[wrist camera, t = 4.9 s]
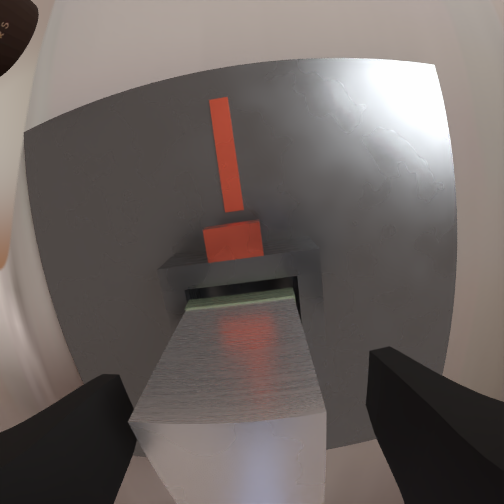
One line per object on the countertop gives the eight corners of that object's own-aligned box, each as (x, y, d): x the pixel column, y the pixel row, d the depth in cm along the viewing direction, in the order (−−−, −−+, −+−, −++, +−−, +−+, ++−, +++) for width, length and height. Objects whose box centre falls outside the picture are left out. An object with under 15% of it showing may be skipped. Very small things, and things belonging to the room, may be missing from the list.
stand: (424, 413, 17) (443, 444, 13) (125, 445, 18) (111, 477, 15) (425, 70, 12) (460, 50, 9) (34, 133, 13) (-6, 128, 10)
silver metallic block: (300, 372, 11) (325, 504, 5) (209, 381, 12) (180, 511, 5) (292, 287, 11) (329, 409, 5) (189, 299, 11) (124, 419, 5)
